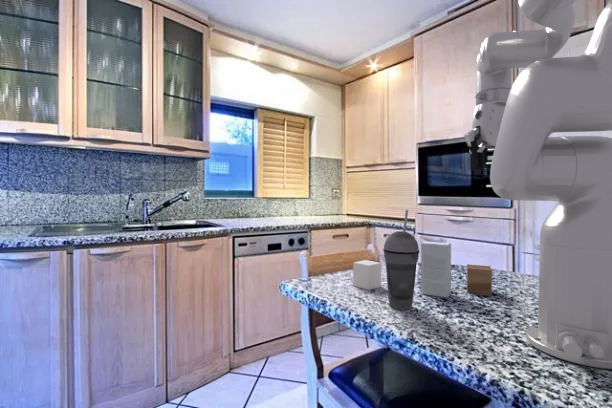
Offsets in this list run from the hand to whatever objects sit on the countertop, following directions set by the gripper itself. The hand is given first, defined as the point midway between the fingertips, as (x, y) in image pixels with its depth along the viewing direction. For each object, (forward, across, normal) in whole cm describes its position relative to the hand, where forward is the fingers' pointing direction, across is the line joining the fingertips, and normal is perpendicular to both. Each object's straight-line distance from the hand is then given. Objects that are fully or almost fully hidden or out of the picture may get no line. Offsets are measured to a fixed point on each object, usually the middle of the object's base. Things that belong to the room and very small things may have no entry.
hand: (492, 171), depth 80 cm
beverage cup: (+30, -29, -2) cm, 41 cm away
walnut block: (+29, -4, 0) cm, 29 cm away
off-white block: (+29, -27, +14) cm, 42 cm away
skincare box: (+29, -15, +2) cm, 33 cm away
